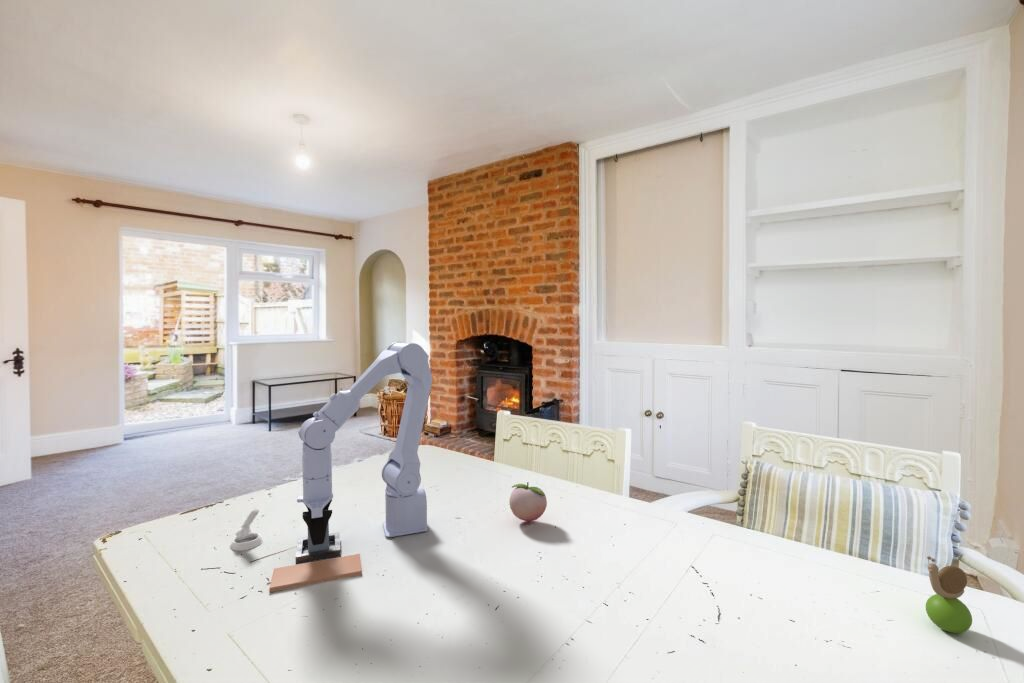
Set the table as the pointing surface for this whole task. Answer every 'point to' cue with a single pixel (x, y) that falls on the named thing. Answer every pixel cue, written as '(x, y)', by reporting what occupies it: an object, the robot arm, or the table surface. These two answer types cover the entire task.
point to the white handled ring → (246, 534)
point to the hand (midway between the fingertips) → (318, 537)
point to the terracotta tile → (315, 572)
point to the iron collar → (318, 554)
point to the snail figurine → (948, 599)
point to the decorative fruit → (527, 502)
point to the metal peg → (321, 546)
